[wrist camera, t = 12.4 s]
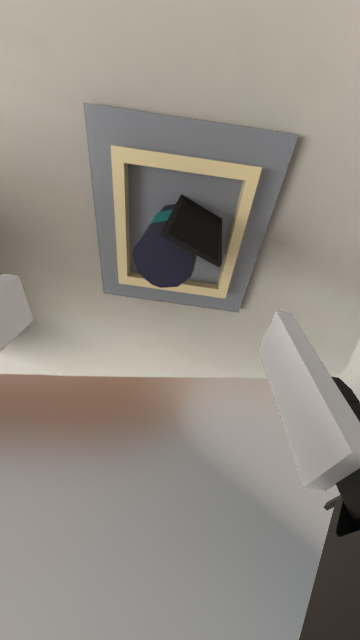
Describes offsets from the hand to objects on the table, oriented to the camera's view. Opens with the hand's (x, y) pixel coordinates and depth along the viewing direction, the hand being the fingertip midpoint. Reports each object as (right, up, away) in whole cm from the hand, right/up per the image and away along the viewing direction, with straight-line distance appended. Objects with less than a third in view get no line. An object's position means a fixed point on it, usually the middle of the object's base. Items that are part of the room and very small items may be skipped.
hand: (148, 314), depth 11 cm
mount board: (+2, +11, +15) cm, 19 cm away
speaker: (+2, +10, +14) cm, 18 cm away
